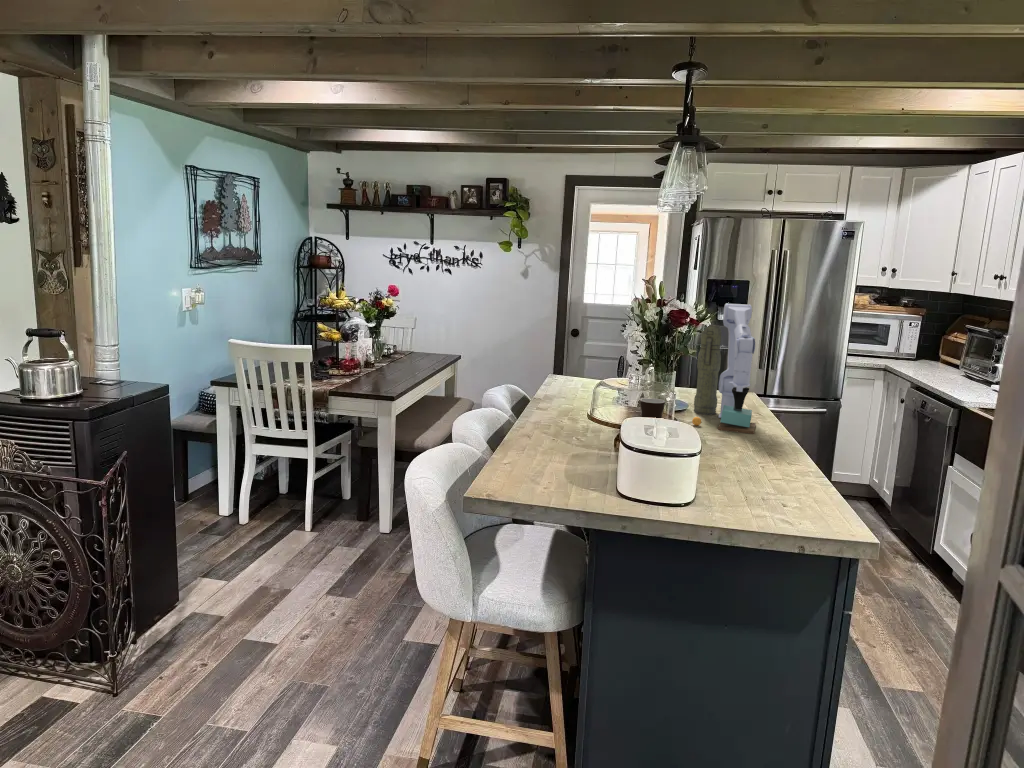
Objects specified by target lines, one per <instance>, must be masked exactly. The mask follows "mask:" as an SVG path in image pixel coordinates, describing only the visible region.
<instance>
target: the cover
mask: <svg viewBox="0 0 1024 768" xmlns="http://www.w3.org/2000/svg"><path fill="white" fill-rule="evenodd" d="M752 415H753V410H752V409H747V408H744V407H742V409H741V410H740V409H735V402H734V407H732V406H726V405H724V406H723V410H722V415H721V418H720V423H721V422H722V423H727V424H733V425H738V426H744V427H750V423H752V422H751V420H752Z"/></svg>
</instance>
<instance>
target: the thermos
mask: <svg viewBox="0 0 1024 768" xmlns="http://www.w3.org/2000/svg"><path fill="white" fill-rule="evenodd" d="M721 344H722V329H721V326H720V325H718V324H712V323H711V324H709V326H708V327H707V328H706V329H705V330H704V331H701V336H700V347H699V348H700V349H699V352H698V355H697V364H696V365H697V367H696V369H697V380H696V381H697V382H696V393H695V395H694V400H693V407H694V408H693V412H694V413H696V414H700V415H715V414H716V413H717V407H718V396H717V393H718V384H719V372H720V370H721V364H722V363H721V360H722V355H721Z"/></svg>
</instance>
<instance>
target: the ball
mask: <svg viewBox="0 0 1024 768" xmlns="http://www.w3.org/2000/svg"><path fill="white" fill-rule="evenodd" d="M691 422H692V424H693V425H694V426H696V427H697V426H700V425H701V424H702V419H701V418H700V417H699V416H694V417H693V418H692V420H691Z"/></svg>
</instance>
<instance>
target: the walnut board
mask: <svg viewBox="0 0 1024 768" xmlns="http://www.w3.org/2000/svg"><path fill="white" fill-rule="evenodd" d="M756 425H757V424H756V422H750V427H744V426H738V425H733V424H727V423H722V422H720V423H719V425H718V431H722V432H723V431H725V432H726V431H727V432H732V433H733V432H735V433H742V434H749V435H754V434H755V430H756Z"/></svg>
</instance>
